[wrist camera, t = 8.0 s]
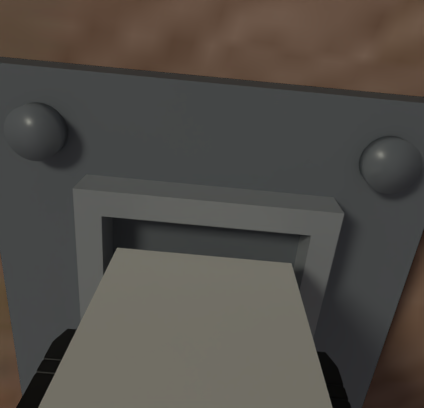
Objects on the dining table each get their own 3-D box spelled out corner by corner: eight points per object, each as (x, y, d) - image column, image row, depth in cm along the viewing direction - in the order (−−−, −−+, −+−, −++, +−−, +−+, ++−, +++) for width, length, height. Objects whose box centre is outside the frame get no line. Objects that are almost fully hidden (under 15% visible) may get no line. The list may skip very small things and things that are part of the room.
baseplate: (-1, 56, 12) (-57, 63, 10) (439, 98, 13) (491, 115, 10) (39, 379, 18) (10, 435, 16) (341, 406, 18) (360, 466, 16)
